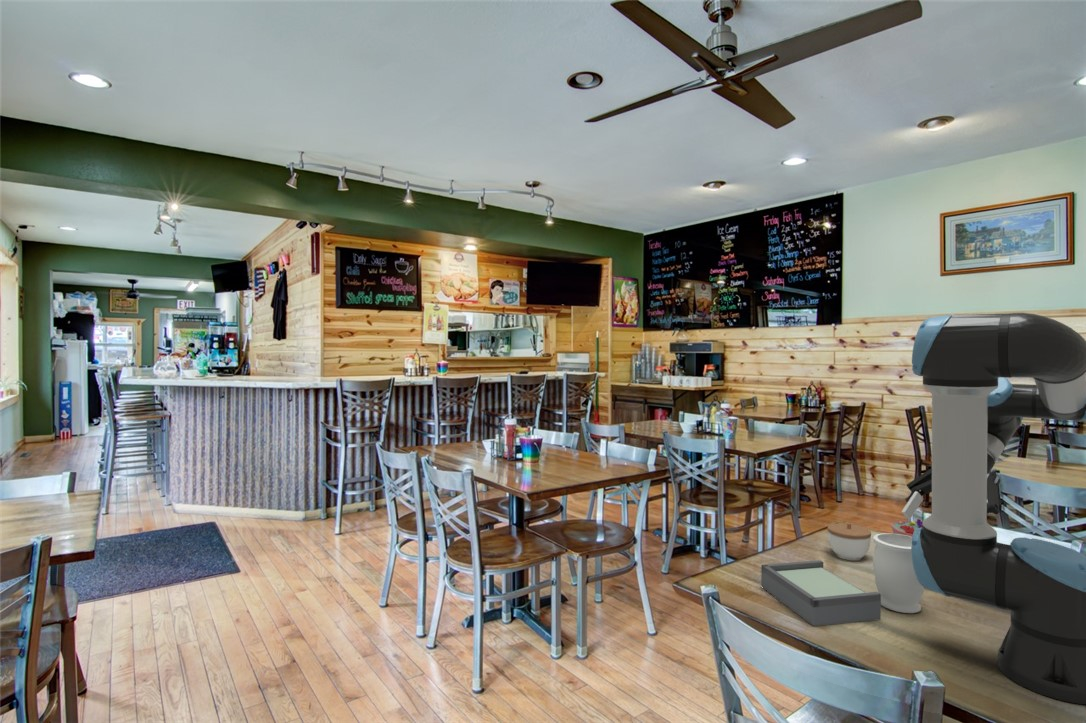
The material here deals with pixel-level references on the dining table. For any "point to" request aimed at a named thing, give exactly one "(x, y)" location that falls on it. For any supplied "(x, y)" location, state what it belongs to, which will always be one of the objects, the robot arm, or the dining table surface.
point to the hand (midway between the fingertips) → (933, 523)
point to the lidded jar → (849, 540)
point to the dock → (819, 593)
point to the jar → (896, 573)
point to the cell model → (906, 527)
